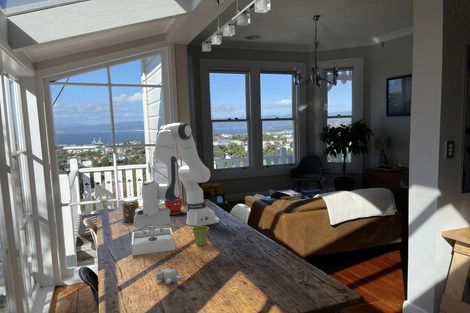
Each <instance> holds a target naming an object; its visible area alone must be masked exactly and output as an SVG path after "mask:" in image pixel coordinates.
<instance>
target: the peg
mask: <svg viewBox="0 0 470 313" xmlns="http://www.w3.org/2000/svg"><path fill="white" fill-rule="evenodd" d="M155 227H156V225H154V226H148V230H149V234H150V241H151V240H156V237H155V229H156V228H155Z"/></svg>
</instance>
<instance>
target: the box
mask: <svg viewBox="0 0 470 313" xmlns="http://www.w3.org/2000/svg"><path fill="white" fill-rule="evenodd" d="M160 229H161V228H155V237H156V240H151V241H150V234H149V229H148V230H147V229H146V230H145V231H146V234H144V235H143V231H142V230H139V231H132V234H131V252H132V253H131V254H132V255H133V256H137V255H145V254H146V255H148V254H154V253H155V254H156V253H160V252H168V251H175V249H176V247H175V246H176V245H175V237H174V234H173V230H172V227H166V228H165V227H164V228H163V232H160Z"/></svg>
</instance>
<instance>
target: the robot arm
mask: <svg viewBox="0 0 470 313" xmlns="http://www.w3.org/2000/svg"><path fill="white" fill-rule="evenodd" d="M192 133H193V130H192V126H191V124H189V123H188V122H173V123H170V124H169V123H168V124H163V125H161V126H160V127H159V130H158V134H157V136H156V139H155V146H154V150H153V153H154V154H153V155H154V158H155V159H156V161H158V162H159V163H161V164H163V165H165V166H166V167H167V168H168V174H169V177H168V178H169V179H168V180H169V181H168V183H160V182H156V180H155V179H148V180H144V181H143V182H142V184H141V199H142V206H139V208H138V209H136V210H135V216H134V222H133V227H134V228H135V229H139V228H140V231H143V235H144V234H146V231H147V230H145V229H144V228H146V227H150V226H160V225H161V228H159V229H160V232H163V228H165V225H169V224H170V223H171V217H170V216H171V215H169V214H170V209H169V208H167V207H160V204H159V201H165V200H166V201H172V202H174V201H175V200H177V199H178V197H181V196H180V195H181V188H180V182H179V180H180V181H181V182H182V185H183V186H184V189H185V192H186V194H185V195H186V206H185V207H186V211H187V212H186V214H187V215H186V222H185V224H186V225H187V226H188V225H189V226H195V227H198V226H207V225H213V224H218V223H219V222H220V218H218V217H217V216H216V212H215V211H214V210H212V209H211V208H209V207H208V206H209V203H208V202H206V201H204V191H203V188H201V186H199V184H198V183H207V182H208V181H209V180H210V178H211V171H210V169H209V168H208V167H207V166H206V165H205V164H204V163H203V161H202V160H201V159H200V157H199V154H198V150H197V146H196V143H195V140H194V136H193V134H192ZM175 142H177V147H178V151H179V155H180V158H181V161H182V162H183V163H184V164H185V165H183V166H180V167H179V165H178V164H179V163H178V159H177V157H176V156H175V155H174V150H175V149H174V148H175Z"/></svg>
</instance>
